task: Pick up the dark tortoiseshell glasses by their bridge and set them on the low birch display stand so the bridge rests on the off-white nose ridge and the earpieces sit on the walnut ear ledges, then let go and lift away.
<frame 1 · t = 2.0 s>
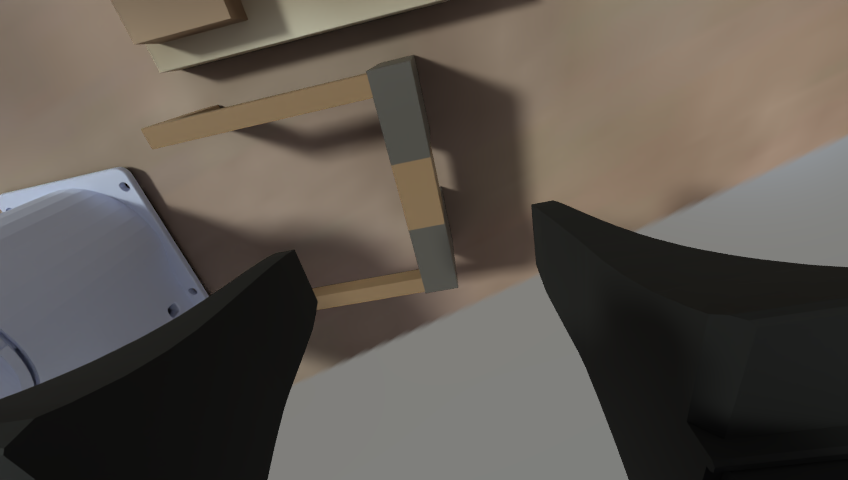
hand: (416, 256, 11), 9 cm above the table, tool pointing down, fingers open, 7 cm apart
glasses: (420, 162, 19), on the table
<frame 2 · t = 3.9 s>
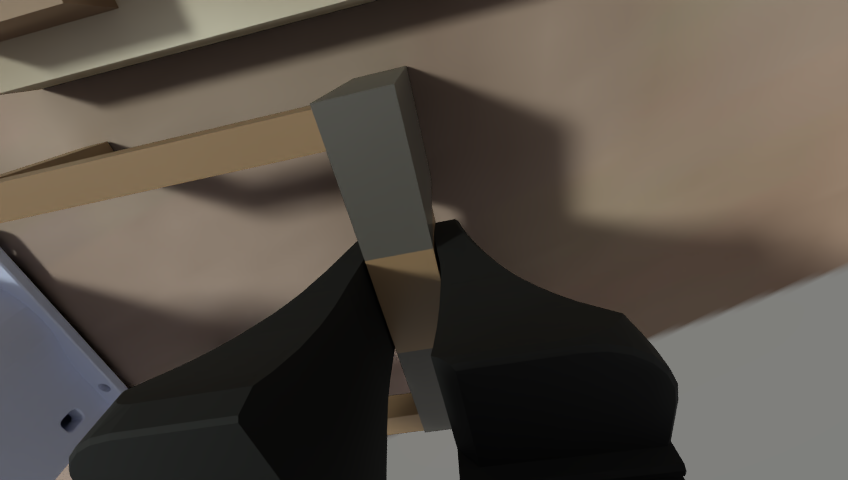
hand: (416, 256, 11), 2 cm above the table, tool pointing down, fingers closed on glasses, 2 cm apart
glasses: (417, 223, 13), on the table, touching gripper
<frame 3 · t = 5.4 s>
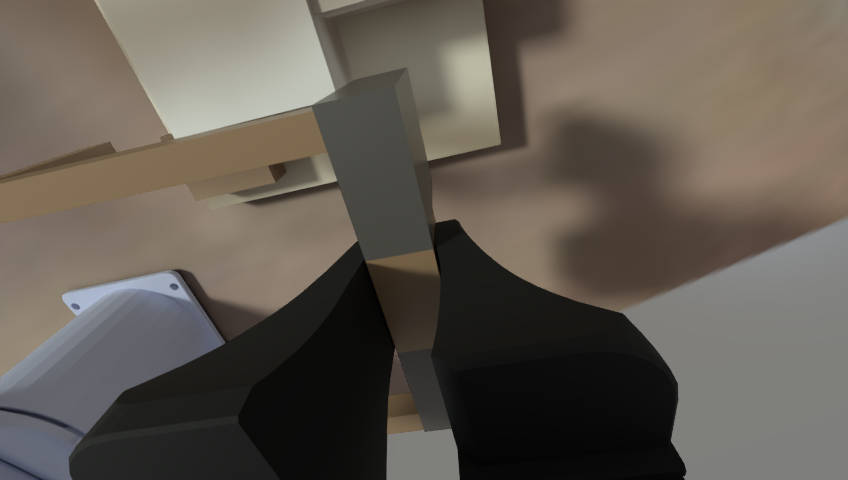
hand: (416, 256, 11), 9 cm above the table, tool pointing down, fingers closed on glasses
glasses: (418, 224, 13), point 7 cm above the table, touching gripper
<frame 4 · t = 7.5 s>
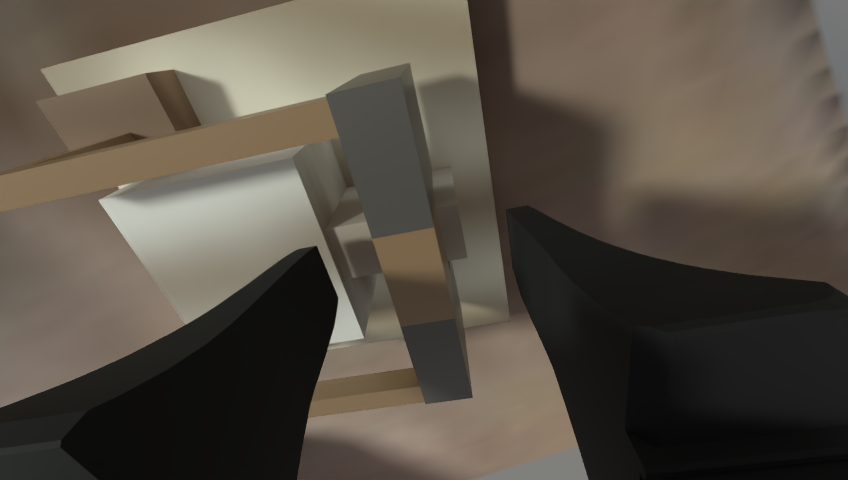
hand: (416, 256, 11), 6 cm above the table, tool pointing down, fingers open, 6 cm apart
display stand: (419, 183, 16), on the table
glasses: (419, 211, 14), point 3 cm above the table, touching display stand
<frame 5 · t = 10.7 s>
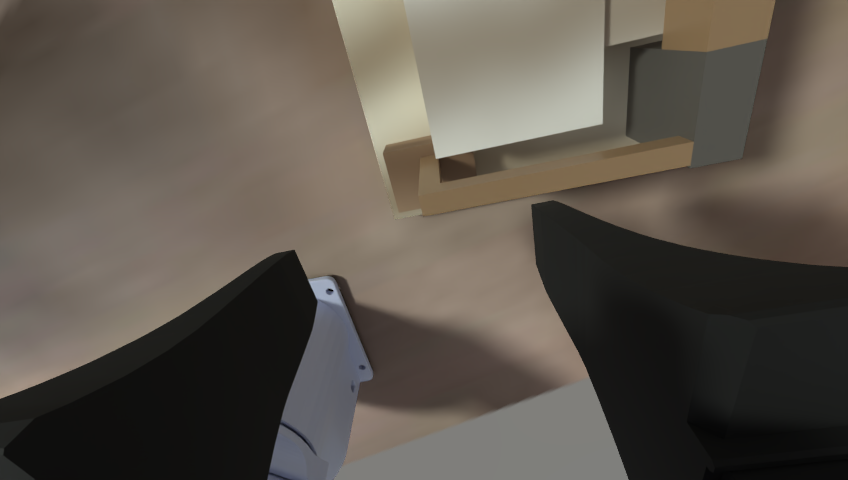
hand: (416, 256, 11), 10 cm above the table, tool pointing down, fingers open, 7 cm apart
display stand: (617, 4, 16), on the table
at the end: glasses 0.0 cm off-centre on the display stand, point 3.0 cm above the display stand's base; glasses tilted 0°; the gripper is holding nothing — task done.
